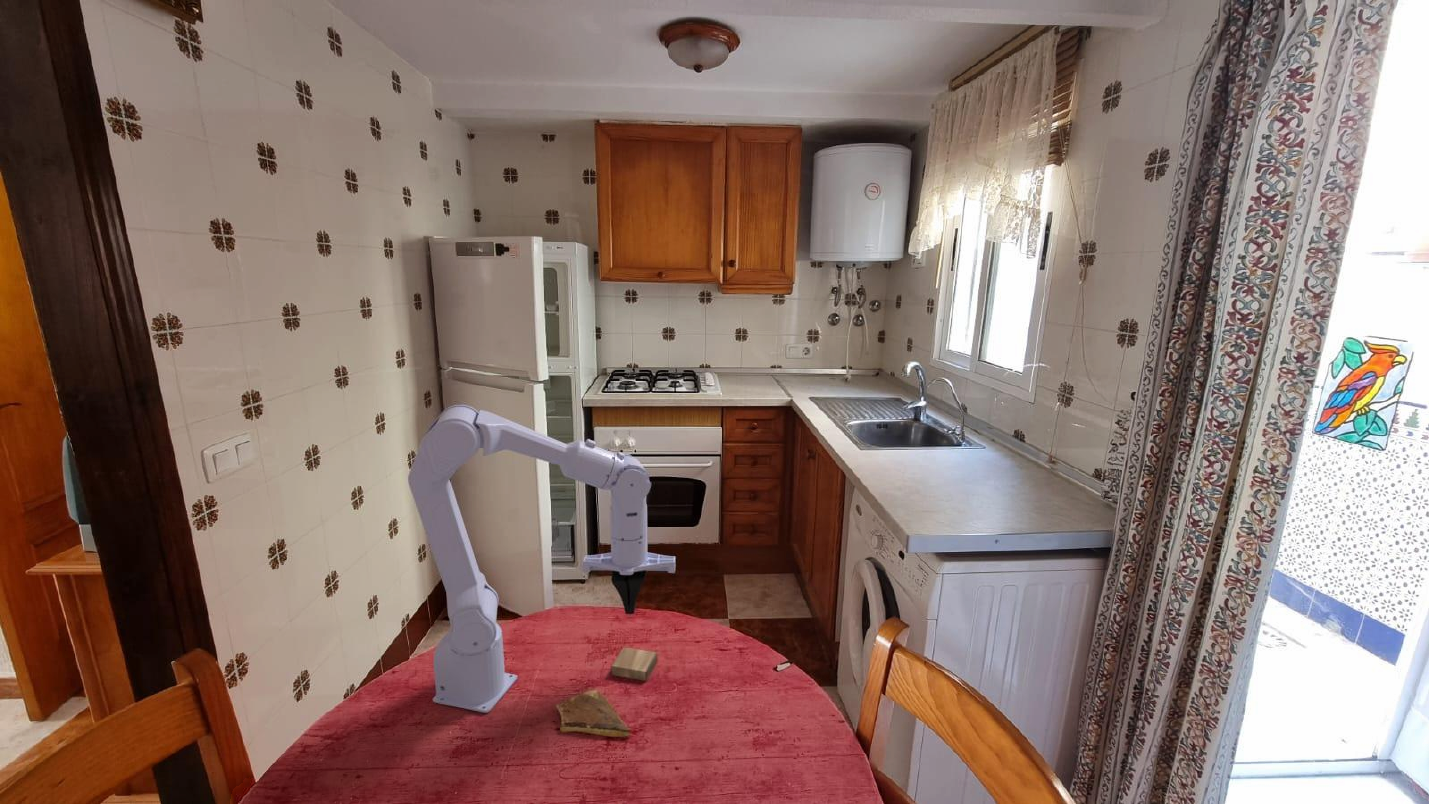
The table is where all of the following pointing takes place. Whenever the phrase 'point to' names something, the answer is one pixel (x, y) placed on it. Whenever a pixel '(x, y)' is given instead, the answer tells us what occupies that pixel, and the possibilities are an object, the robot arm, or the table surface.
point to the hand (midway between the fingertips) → (630, 610)
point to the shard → (591, 715)
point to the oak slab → (635, 663)
